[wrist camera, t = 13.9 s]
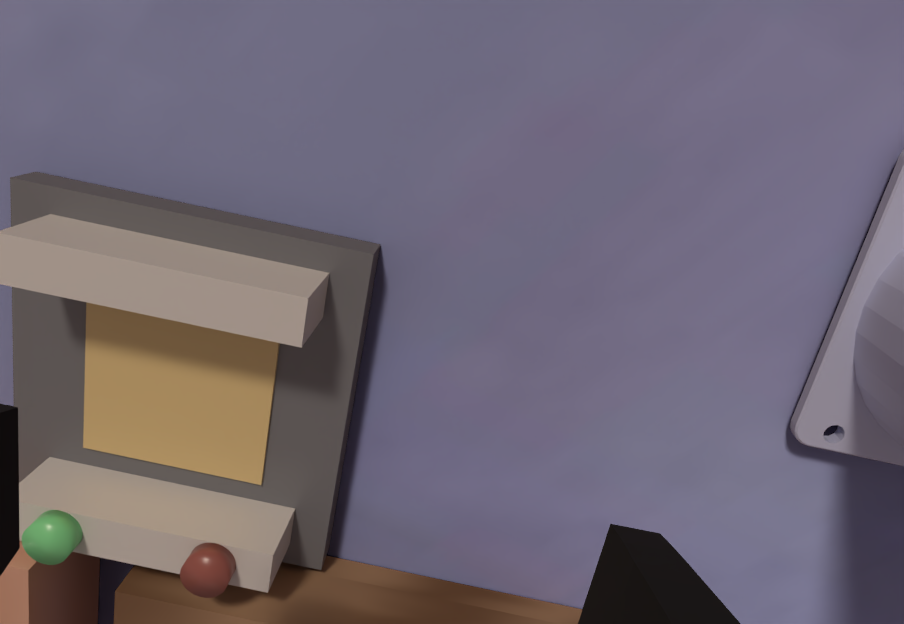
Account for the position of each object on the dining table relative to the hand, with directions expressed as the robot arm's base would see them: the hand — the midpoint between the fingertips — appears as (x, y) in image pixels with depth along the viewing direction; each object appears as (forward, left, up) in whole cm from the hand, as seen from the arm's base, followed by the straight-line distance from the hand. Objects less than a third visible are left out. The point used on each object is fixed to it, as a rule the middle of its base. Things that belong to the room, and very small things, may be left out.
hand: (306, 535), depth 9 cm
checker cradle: (+5, +4, -10) cm, 12 cm away
